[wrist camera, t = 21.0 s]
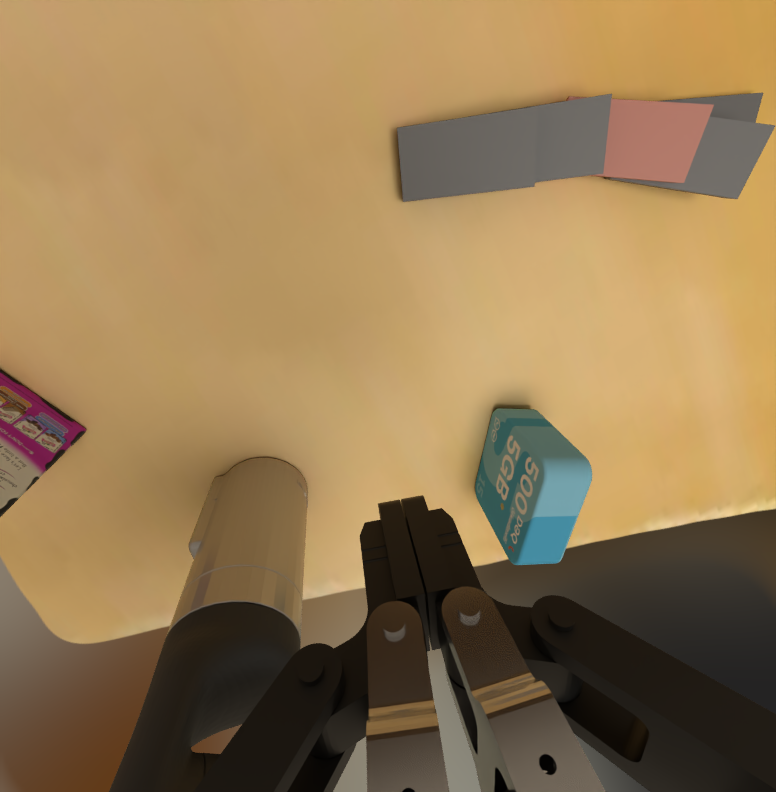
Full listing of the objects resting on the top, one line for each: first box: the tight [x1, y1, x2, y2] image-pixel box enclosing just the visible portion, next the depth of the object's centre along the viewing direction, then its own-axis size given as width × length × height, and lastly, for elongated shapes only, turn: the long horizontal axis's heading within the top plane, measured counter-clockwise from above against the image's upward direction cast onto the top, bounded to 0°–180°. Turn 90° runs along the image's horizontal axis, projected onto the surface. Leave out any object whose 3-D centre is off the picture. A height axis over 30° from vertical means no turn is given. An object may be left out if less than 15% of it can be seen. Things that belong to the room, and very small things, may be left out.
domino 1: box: [397, 106, 538, 202], centre depth 31 cm, size 2×5×10 cm
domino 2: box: [470, 94, 612, 182], centre depth 32 cm, size 2×5×10 cm
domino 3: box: [566, 96, 714, 183], centre depth 32 cm, size 2×5×10 cm
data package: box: [475, 408, 592, 565], centre depth 41 cm, size 12×4×12 cm, turn 174°
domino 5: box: [605, 117, 775, 199], centre depth 33 cm, size 2×5×10 cm
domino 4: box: [658, 93, 763, 123], centre depth 35 cm, size 2×5×10 cm
